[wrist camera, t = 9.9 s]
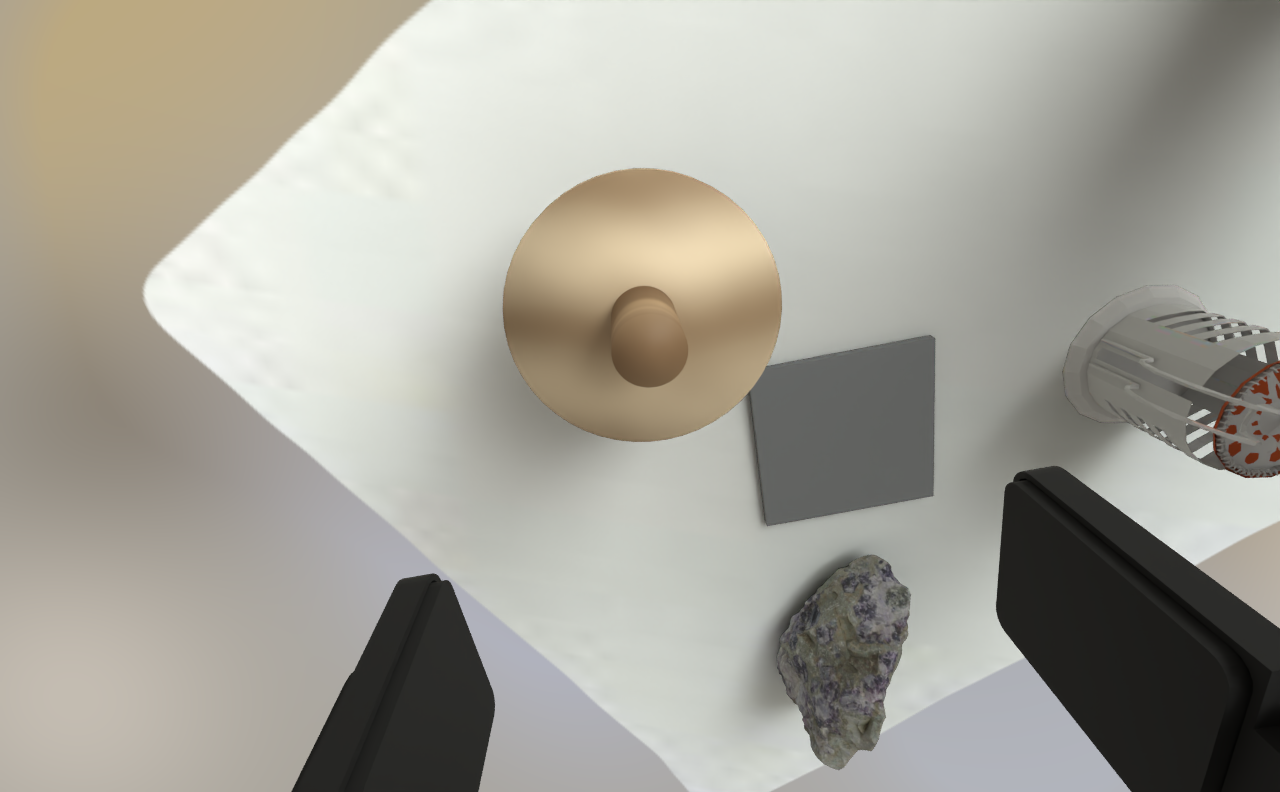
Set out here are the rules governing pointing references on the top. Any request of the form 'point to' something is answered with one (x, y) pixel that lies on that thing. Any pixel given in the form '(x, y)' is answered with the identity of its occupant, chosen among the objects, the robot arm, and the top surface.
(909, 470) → the mat
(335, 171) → the top surface
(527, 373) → the lid
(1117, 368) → the french press
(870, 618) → the mineral rock
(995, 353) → the top surface
